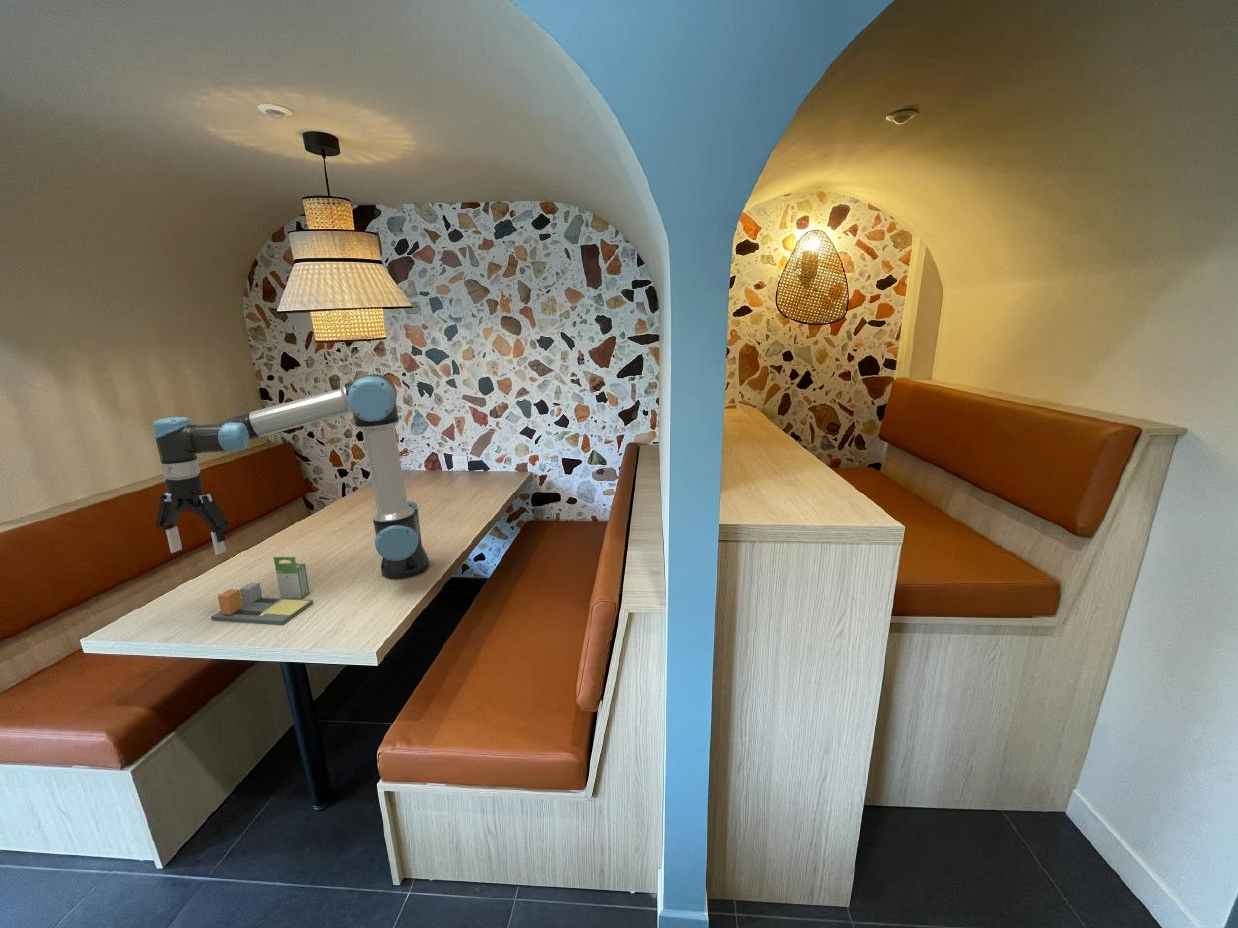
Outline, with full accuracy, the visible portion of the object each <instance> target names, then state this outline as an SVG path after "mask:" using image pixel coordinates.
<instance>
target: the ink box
mask: <svg viewBox="0 0 1238 928" xmlns="http://www.w3.org/2000/svg"><path fill="white" fill-rule="evenodd" d="M280 561H289V562H283V563H281V562H280ZM273 562H274V566H275V573H276V581H277V585H278V591H279V595H280V597H279V598H287V599H303V598H304V597H306V596H308V595H310V587H309V581H308V573H307V567H306V563H297V562H296V557H295V556H273Z"/></svg>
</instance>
